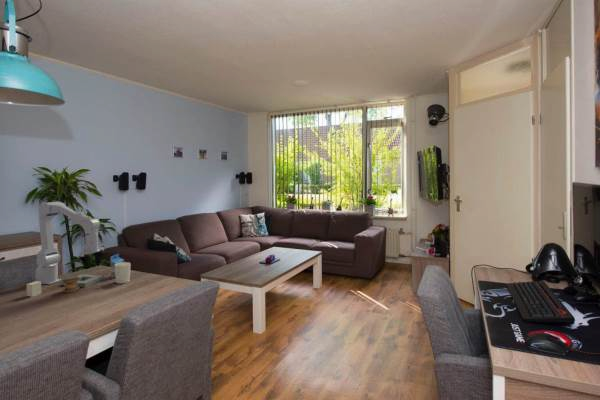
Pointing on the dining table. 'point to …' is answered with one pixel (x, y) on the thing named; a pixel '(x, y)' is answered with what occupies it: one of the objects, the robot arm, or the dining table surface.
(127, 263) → the white cup
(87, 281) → the notched board
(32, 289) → the tab block
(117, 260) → the label tape box
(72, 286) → the wooden knob
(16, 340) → the dining table surface
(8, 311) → the dining table surface
